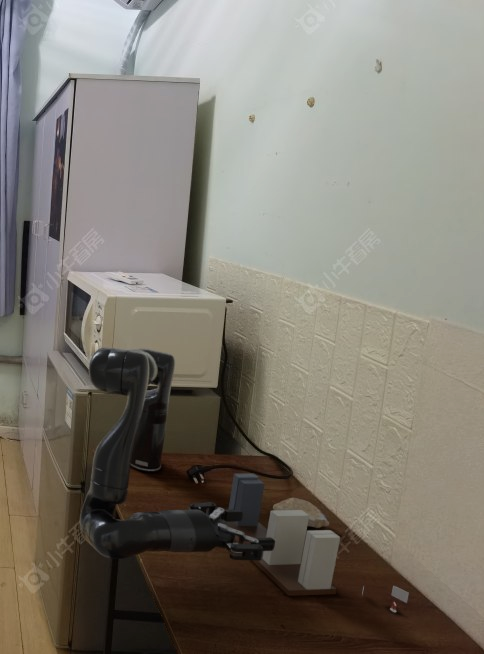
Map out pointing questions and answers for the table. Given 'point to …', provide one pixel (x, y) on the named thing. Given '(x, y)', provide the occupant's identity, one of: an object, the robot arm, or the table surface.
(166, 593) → the table surface
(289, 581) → the shelf board
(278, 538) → the white rectangular block
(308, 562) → the cream books
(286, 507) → the stone
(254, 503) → the grey books
